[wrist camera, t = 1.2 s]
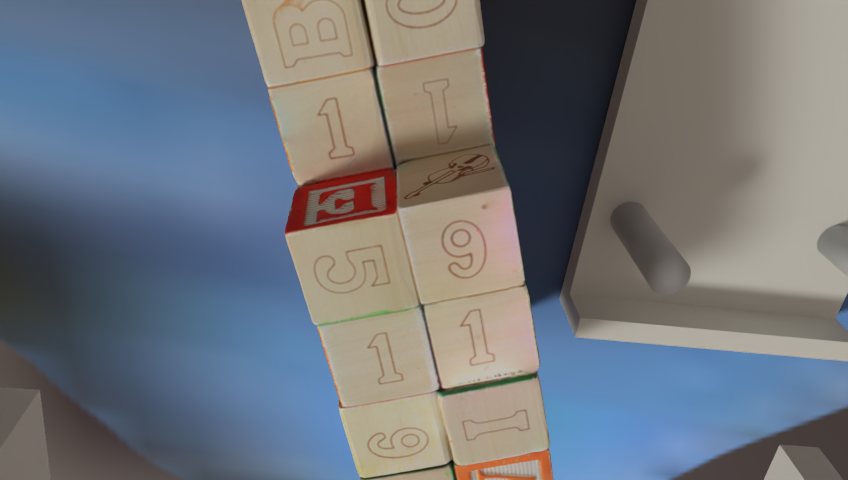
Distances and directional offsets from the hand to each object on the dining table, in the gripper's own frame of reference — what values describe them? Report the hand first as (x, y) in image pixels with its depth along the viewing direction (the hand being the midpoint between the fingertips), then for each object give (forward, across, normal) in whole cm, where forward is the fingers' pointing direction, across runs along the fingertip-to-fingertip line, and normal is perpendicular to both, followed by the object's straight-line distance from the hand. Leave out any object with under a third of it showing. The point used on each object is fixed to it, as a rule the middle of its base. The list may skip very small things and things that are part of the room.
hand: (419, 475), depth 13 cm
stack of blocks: (+20, 0, +1) cm, 20 cm away
